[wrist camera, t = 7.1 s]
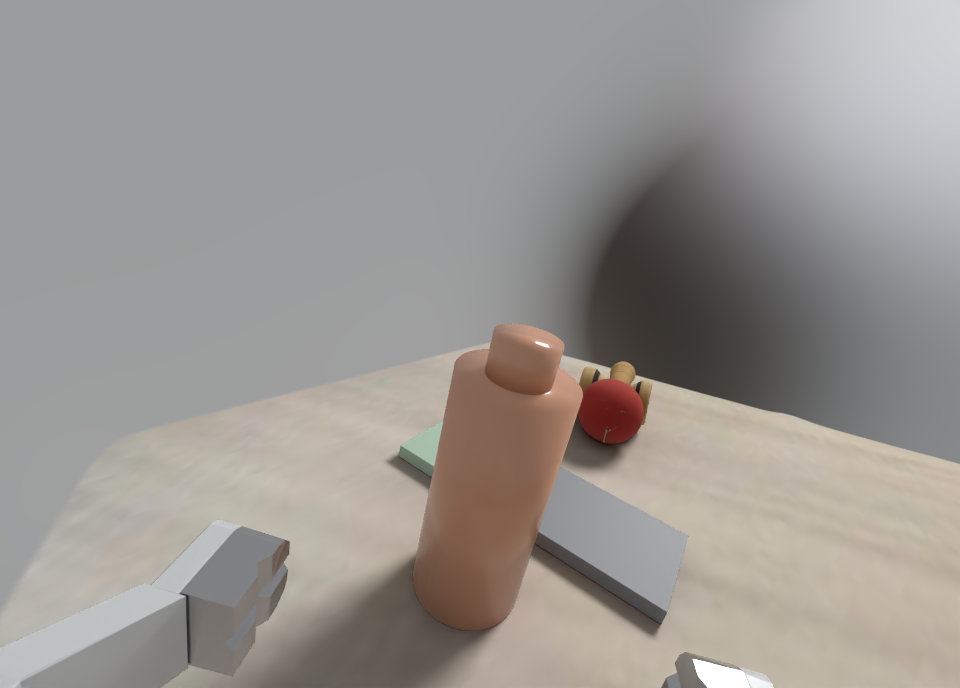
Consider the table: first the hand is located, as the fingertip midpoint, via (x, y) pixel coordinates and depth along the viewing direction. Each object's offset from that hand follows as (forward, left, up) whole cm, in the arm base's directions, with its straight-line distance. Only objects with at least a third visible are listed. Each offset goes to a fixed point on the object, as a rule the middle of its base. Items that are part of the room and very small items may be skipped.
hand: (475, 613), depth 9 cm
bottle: (+5, -11, -13) cm, 18 cm away
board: (+5, -20, -13) cm, 25 cm away
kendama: (+5, -39, -14) cm, 42 cm away
